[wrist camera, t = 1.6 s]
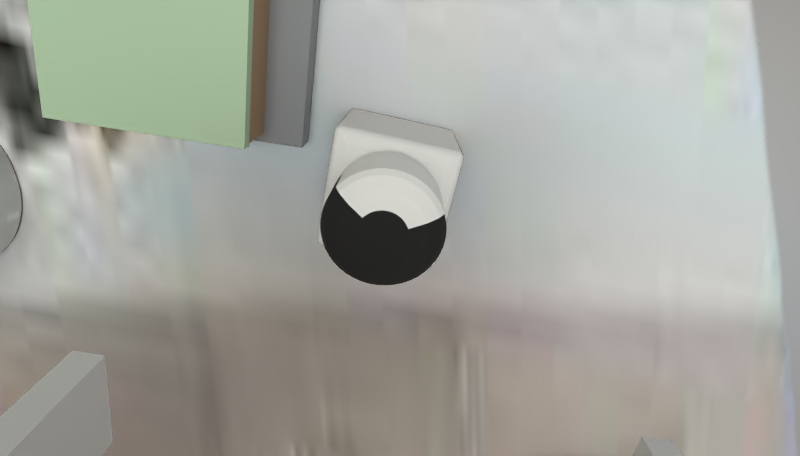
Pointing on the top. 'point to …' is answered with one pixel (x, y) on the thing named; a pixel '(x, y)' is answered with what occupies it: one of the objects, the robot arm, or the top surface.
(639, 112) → the top surface
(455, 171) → the medicine bottle
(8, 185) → the utensil holder
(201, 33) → the stand
